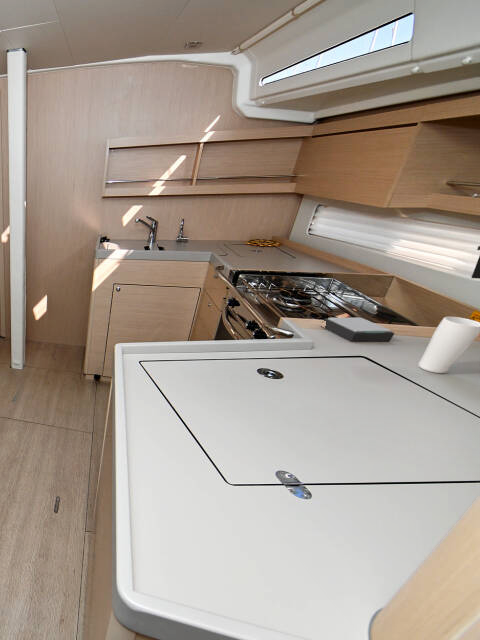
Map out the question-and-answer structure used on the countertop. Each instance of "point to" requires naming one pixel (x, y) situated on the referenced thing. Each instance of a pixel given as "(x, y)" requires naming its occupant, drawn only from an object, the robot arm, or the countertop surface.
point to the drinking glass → (448, 343)
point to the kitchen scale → (358, 330)
